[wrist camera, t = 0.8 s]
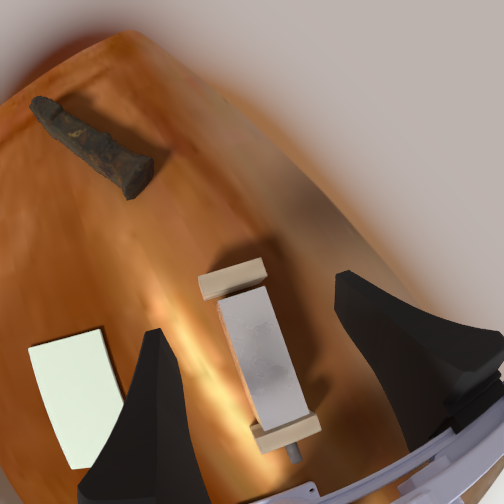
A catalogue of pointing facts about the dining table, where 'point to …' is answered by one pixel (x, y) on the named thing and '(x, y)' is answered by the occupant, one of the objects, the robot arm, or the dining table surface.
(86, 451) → the mat
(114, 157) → the hand tool
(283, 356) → the steel bar
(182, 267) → the dining table surface
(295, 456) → the blocks
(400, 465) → the robot arm
